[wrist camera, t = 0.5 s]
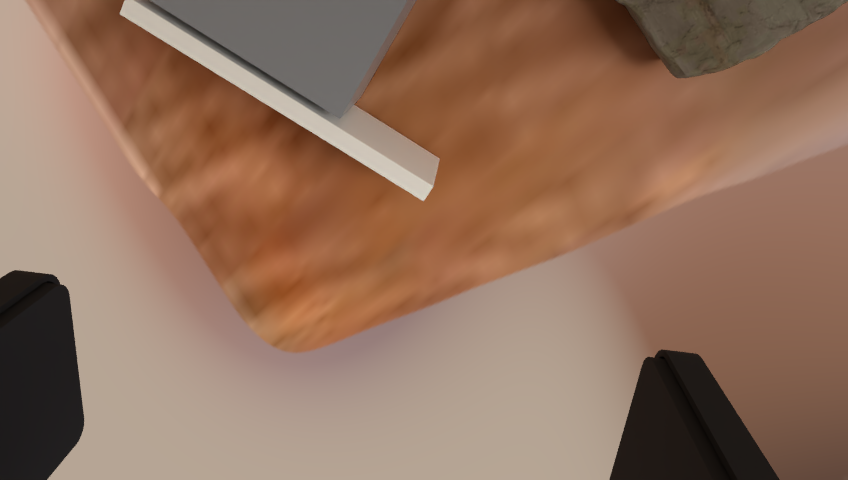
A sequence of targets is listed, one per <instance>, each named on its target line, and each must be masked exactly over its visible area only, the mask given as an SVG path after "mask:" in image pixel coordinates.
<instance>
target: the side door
mask: <svg viewBox="0 0 848 480" xmlns="http://www.w3.org/2000/svg"><path fill="white" fill-rule="evenodd" d="M120 15H122V16H124V17H125V18H127V19H128V20H130V21H132V22H133V23H135V24H137V25H138V26H140V27H141V28H143V29H145V30H146V31H148V32H150V33H151V34H153V35H154V36H156V37H158V38H159V39H161V40H163V41H164V42H166V43H167V44H169V45H171V46H172V47H174V48H176V49H177V50H179V51H180V52H182V53H184V54H185V55H187V56H189V57H190V58H192V59H193V60H195V61H197V62H198V63H200V64H202V65H203V66H205V67H206V68H208V69H210V70H211V71H213V72H215V73H216V74H218V75H219V76H221V77H223V78H224V79H226V80H228V81H229V82H231V83H232V84H234V85H236V86H237V87H239V88H241V89H242V90H244V91H245V92H247V93H249V94H250V95H252V96H254V97H255V98H257V99H258V100H260V101H262V102H263V103H265V104H266V105H268V106H270V107H271V108H273V109H275V110H276V111H278V112H279V113H281V114H283V115H284V116H286V117H288V118H289V119H291V120H292V121H294V122H296V123H297V124H299V125H301V126H302V127H304V128H305V129H307V130H309V131H310V132H312V133H314V134H315V135H317V136H318V137H320V138H322V139H323V140H325V141H327V142H328V143H330V144H331V145H333V146H335V147H336V148H338V149H340V150H341V151H343V152H344V153H346V154H348V155H349V156H351V157H353V158H354V159H356V160H357V161H359V162H361V163H362V164H364V165H366V166H367V167H369V168H370V169H372V170H374V171H375V172H377V173H379V174H380V175H382V176H383V177H385V178H387V179H388V180H390V181H392V182H393V183H395V184H396V185H398V186H400V187H401V188H403V189H405V190H406V191H408V192H409V193H411V194H413V195H414V196H416V197H418V198H419V199H421V200H422V201H424V200H425V198H426V197H427V195H428V194H429V192H430V191H431V189H432V188H433V186H434V182H435V177H436V173H437V168H438V164H439V160H440V158H438V157H436V156H435V155H433V154H432V153H430V152H428V151H427V150H425V149H424V148H422V147H420V146H419V145H417V144H416V143H414V142H413V141H411V140H409V139H408V138H406V137H405V136H403V135H401V134H400V133H398V132H397V131H395V130H393V129H392V128H390V127H389V126H387V125H386V124H384V123H382V122H381V121H379V120H378V119H376V118H374V117H373V116H371V115H370V114H368V113H366V112H365V111H363V110H362V109H360V108H358V107H357V106H355V105H353V106H352V107H351V108H350V109H349V110H348V111H347V112H346V113H345V114H344V115H343V116H342V117H341V119H339V118H338V117H336V116H334V115H333V114H331V113H330V112H328V111H326V110H325V109H323V108H322V107H320V106H318V105H317V104H315V103H314V102H312V101H310V100H309V99H307V98H306V97H304V96H302V95H301V94H299V93H298V92H296V91H294V90H293V89H291V88H290V87H288V86H286V85H285V84H283V83H282V82H280V81H278V80H277V79H275V78H274V77H272V76H270V75H269V74H267V73H266V72H264V71H262V70H261V69H259V68H257V67H256V66H254V65H253V64H251V63H249V62H248V61H246V60H245V59H243V58H241V57H240V56H238V55H237V54H235V53H233V52H232V51H230V50H229V49H227V48H225V47H224V46H222V45H221V44H219V43H217V42H216V41H214V40H213V39H211V38H209V37H208V36H206V35H205V34H203V33H201V32H200V31H198V30H197V29H195V28H193V27H192V26H190V25H189V24H187V23H185V22H184V21H182V20H181V19H179V18H177V17H176V16H174V15H172V14H171V13H169V12H168V11H166V10H164V9H163V8H161V7H160V6H158V5H156V4H155V3H153V2H152V1H150V0H125V1H124V3H123V6H122V9H121V11H120Z"/></svg>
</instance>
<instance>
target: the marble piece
mask: <svg viewBox="0 0 848 480" xmlns="http://www.w3.org/2000/svg"><path fill="white" fill-rule="evenodd" d="M615 1H617V2H618V3H620V4H622V5H624V6H625V7H626V8H627V10H628V11H629V13H630V15H631V16H632V18H633V19H634V21H635V22H636V24H637V25H638V27H639V28H640V30H641V31H642V33H643V34H644V36H645V37H646V39H647V41H648V43H649V44H650V46H651V47H652V49H653V50H654V51H655V52H656V54H657V55H658V56H659V58H660V59H661V60H662V62H663V63H664V65H665V66H666V67H667V69H668V70H669V71H670V73H671V74H672V75H673V76H675V77H676V78H688V77H695V76H700V75H704V74H709V73H715V72H719V71H722V70H725V69H727V68H730V67H732V66H735V65H737V64H739V63H740V62H743V61H745V60H747V59H752V58H756V57H758V56H760V55H762V54H763V53H765V52H767V51H768V50H770V49H771V48H773V47H774V46H775V45H776V44H777V43H778V42H779V41H780V40H781V39H783V38H786V37H788V36H790V35H792V34H794V33H796V32H798V31H800V30H802V29H803V28H805V27H806V26H807V25H809V24H811V23H813V22H815V21H817V20H819V19H822V18H824V17H825V16H827V15H829V14H830V13H832V12H834V11H835V10H836V9H837V8H838V7H840V6H841V5H842V4H844V3H846V2H847V1H848V0H615Z"/></svg>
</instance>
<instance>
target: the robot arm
mask: <svg viewBox="0 0 848 480" xmlns="http://www.w3.org/2000/svg"><path fill="white" fill-rule="evenodd" d="M83 427H84V414H83V406H82V398H81V389H80V380H79V372H78V364H77V355H76V347H75V338H74V330H73V321H72V313H71V304H70V297H69V291H68V289H67V288H66V287H65V286H64V285H60V282H59V280H58V279H57V277H55V276H54V275H51V274H43V273H35V272H27V271H17V270H15V271H12V272H10V273H8V274H6V275H5V276H3V277H2V278H0V480H47V479H48V478H49V476H50V475H51V474H52V473H53V472H54V470H55V469H56V468H57V467H58V466H59V464H60V463H61V462H62V461H63V459H64V458H65V457H66V456H67V455H68V453H69V452H70V451H71V450H72V448H74V446H75V445H76V444H77V442H78V441H79V439H80V436H81V434H82V431H83ZM610 480H779V478H778V477H777V475H776V473H775V472H774V470H773V469H772V467H771V466H770V464H769V462H768V461H767V459H766V458H765V456H764V455H763V453H762V452H761V450H760V449H759V447H758V445H757V444H756V442H755V441H754V439H753V438H752V436H751V434H750V433H749V431H748V430H747V428H746V427H745V425H744V423H743V422H742V420H741V419H740V417H739V416H738V414H737V413H736V411H735V409H734V408H733V406H732V405H731V403H730V402H729V400H728V398H727V397H726V396H725V394H724V392H723V391H722V389H721V388H720V386H719V384H718V383H717V381H716V380H715V378H714V377H713V375H712V374H711V372H710V370H709V369H708V367H707V366H706V364H705V363H704V361H703V359H702V358H701V357H700V356H699V355H698V354H694V353H686V352H678V351H670V350H660V351H658V353H657V354H656V355H655V358H653V357H647V358H646V359H645V360H644V362H643V365H642V368H641V371H640V375H639V379H638V382H637V385H636V389H635V393H634V396H633V399H632V403H631V406H630V410H629V414H628V417H627V421H626V424H625V427H624V431H623V434H622V438H621V441H620V445H619V448H618V452H617V455H616V459H615V462H614V466H613V469H612V473H611V476H610Z"/></svg>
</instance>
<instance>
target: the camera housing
mask: <svg viewBox="0 0 848 480" xmlns="http://www.w3.org/2000/svg"><path fill="white" fill-rule="evenodd" d="M150 1H152V2H153V3H155V4H156V5H158V6H160V7H161V8H163V9H164V10H166V11H168V12H169V13H171V14H172V15H174V16H176V17H177V18H179V19H181V20H182V21H184V22H185V23H187V24H189V25H190V26H192V27H193V28H195V29H197V30H198V31H200V32H201V33H203V34H205V35H206V36H208V37H209V38H211V39H213V40H214V41H216V42H217V43H219V44H221V45H222V46H224V47H225V48H227V49H229V50H230V51H232V52H233V53H235V54H237V55H238V56H240V57H241V58H243V59H245V60H246V61H248V62H249V63H251V64H253V65H254V66H256V67H257V68H259V69H261V70H262V71H264V72H266V73H267V74H269V75H270V76H272V77H274V78H275V79H277V80H278V81H280V82H282V83H283V84H285V85H286V86H288V87H290V88H291V89H293V90H294V91H296V92H298V93H299V94H301V95H302V96H304V97H306V98H307V99H309V100H310V101H312V102H314V103H315V104H317V105H318V106H320V107H322V108H323V109H325V110H326V111H328V112H330V113H331V114H333V115H334V116H336V117H338V118H339V119H341V117H342V116H343V115H344V114H345V113H346V112H347V111H348V110H349V109H350V108H351V107H352V106H353V105H354V104H355V103H356V102H357V101H358V100H359V99H360V98H361V96H362V94H363V93H364V91H365V89H366V87H367V86H368V84H369V82H370V80H371V79H372V77H373V75H374V73H375V72H376V70H377V68H378V66H379V65H380V63H381V61H382V59H383V58H384V56H385V54H386V52H387V51H388V49H389V47H390V46H391V44H392V42H393V40H394V39H395V37H396V35H397V33H398V32H399V30H400V28H401V26H402V25H403V23H404V21H405V19H406V18H407V16H408V14H409V12H410V11H411V9H412V7H413V5H414V4H415V2H416V0H150Z"/></svg>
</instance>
